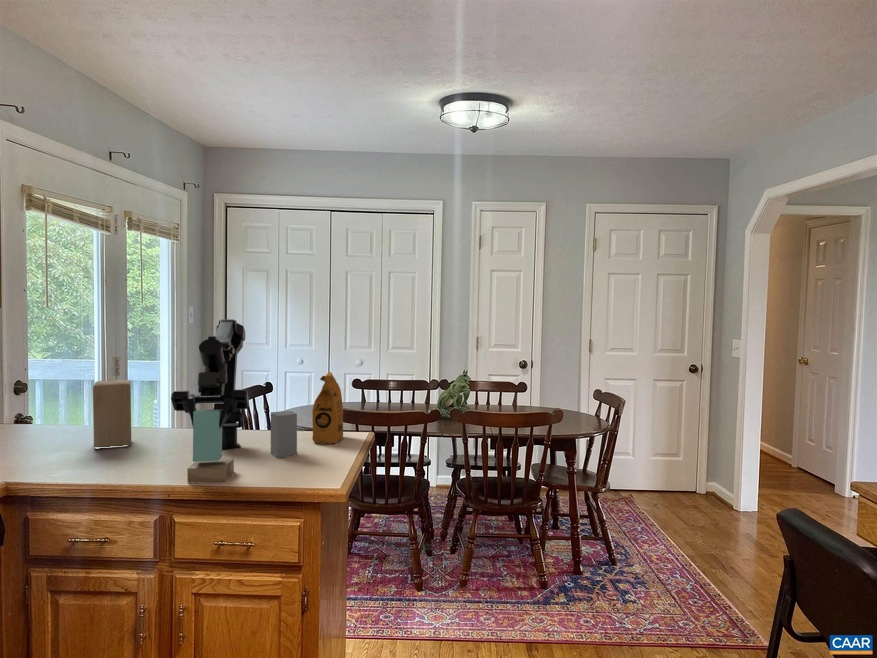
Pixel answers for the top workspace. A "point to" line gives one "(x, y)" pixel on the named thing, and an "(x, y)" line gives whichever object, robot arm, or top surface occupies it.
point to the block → (112, 413)
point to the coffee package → (328, 412)
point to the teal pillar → (207, 435)
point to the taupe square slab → (211, 471)
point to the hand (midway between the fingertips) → (207, 427)
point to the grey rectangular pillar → (283, 434)
